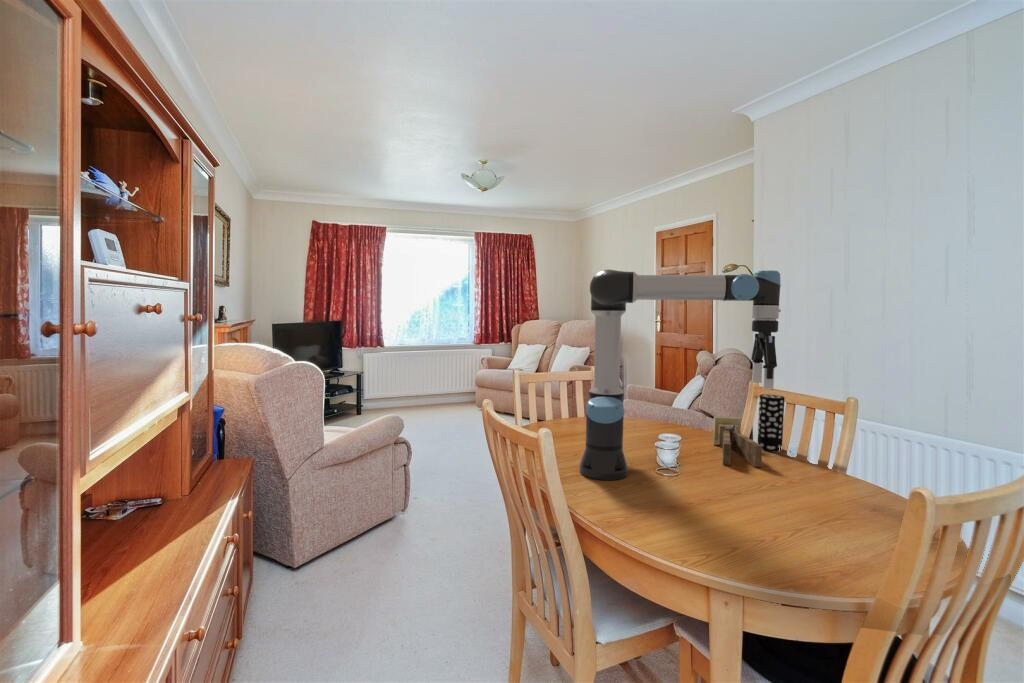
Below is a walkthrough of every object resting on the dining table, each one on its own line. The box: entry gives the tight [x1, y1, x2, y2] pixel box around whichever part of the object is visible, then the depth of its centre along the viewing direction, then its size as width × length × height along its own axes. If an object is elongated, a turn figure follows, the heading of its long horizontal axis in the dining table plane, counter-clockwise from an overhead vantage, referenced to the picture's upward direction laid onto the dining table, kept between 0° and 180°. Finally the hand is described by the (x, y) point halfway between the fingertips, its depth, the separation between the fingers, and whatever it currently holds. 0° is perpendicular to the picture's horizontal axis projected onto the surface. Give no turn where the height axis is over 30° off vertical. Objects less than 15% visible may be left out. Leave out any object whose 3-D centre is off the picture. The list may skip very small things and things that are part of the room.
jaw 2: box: [731, 431, 763, 468], centre depth 180 cm, size 20×2×7 cm, turn 178°
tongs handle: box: [718, 424, 735, 449], centre depth 195 cm, size 11×4×8 cm, turn 168°
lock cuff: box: [712, 415, 742, 446], centre depth 197 cm, size 3×9×11 cm, turn 78°
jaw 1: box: [722, 430, 732, 466], centre depth 181 cm, size 20×2×7 cm, turn 158°
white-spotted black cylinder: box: [756, 393, 786, 453], centre depth 192 cm, size 8×8×20 cm
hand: (762, 385), depth 165 cm, fingers open, 13 cm apart
